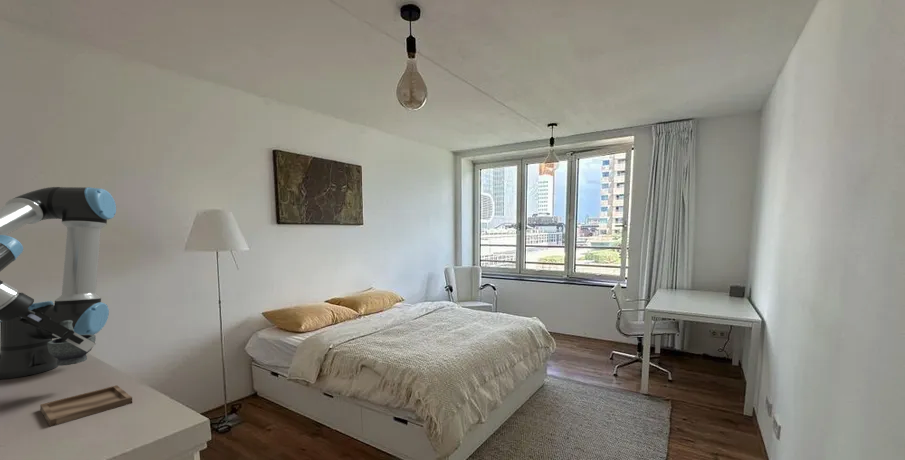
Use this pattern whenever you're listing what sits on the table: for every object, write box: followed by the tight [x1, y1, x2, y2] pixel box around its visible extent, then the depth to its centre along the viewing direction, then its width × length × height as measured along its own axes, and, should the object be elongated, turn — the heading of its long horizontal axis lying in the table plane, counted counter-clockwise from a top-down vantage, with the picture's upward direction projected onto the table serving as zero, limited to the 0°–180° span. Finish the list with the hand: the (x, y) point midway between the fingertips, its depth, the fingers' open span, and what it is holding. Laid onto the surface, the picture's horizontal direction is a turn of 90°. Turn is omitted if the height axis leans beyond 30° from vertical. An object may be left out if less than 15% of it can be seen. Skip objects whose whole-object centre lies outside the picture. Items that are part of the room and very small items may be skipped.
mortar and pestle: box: [48, 320, 96, 367], centre depth 108 cm, size 11×9×12 cm
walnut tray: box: [39, 385, 133, 427], centre depth 96 cm, size 15×15×2 cm
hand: (84, 344), depth 110 cm, fingers closed on mortar and pestle, 11 cm apart
